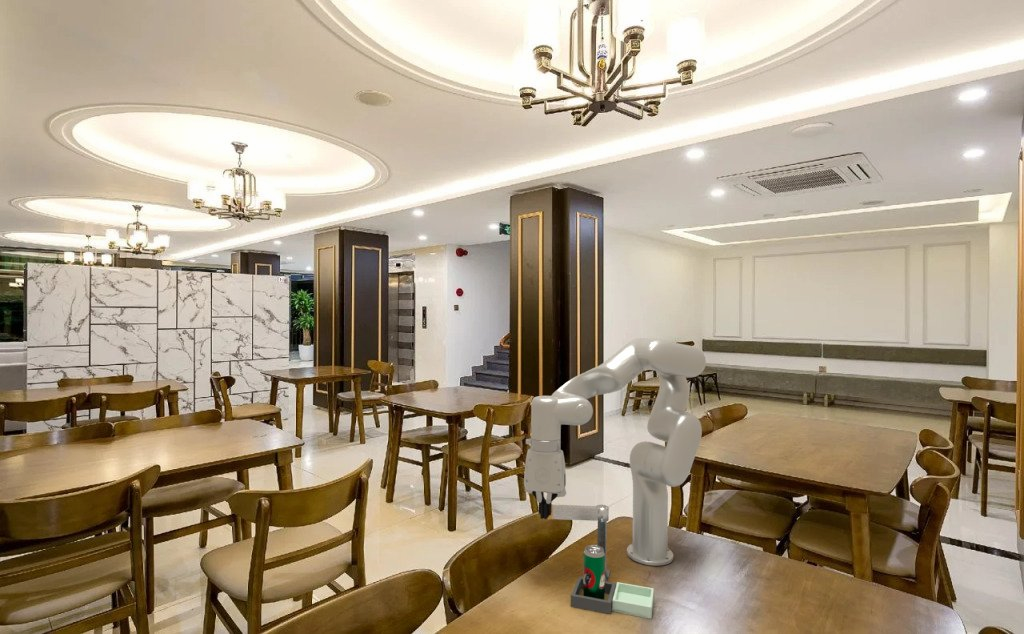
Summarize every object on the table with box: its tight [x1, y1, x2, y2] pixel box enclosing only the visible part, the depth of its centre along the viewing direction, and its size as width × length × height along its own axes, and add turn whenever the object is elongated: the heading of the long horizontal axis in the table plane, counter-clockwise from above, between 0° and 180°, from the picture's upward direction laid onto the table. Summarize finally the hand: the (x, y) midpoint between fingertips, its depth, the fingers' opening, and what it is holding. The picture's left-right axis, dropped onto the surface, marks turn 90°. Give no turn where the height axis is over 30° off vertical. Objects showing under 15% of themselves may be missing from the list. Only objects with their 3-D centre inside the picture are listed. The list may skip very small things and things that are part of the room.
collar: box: [570, 576, 617, 615], centre depth 118 cm, size 9×9×2 cm
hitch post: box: [597, 521, 611, 582], centre depth 127 cm, size 9×4×14 cm, turn 161°
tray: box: [611, 581, 655, 620], centre depth 116 cm, size 8×8×2 cm
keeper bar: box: [542, 503, 610, 523], centre depth 130 cm, size 17×3×3 cm, turn 86°
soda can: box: [582, 544, 606, 600], centre depth 118 cm, size 5×5×12 cm
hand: (544, 517), depth 128 cm, fingers closed
